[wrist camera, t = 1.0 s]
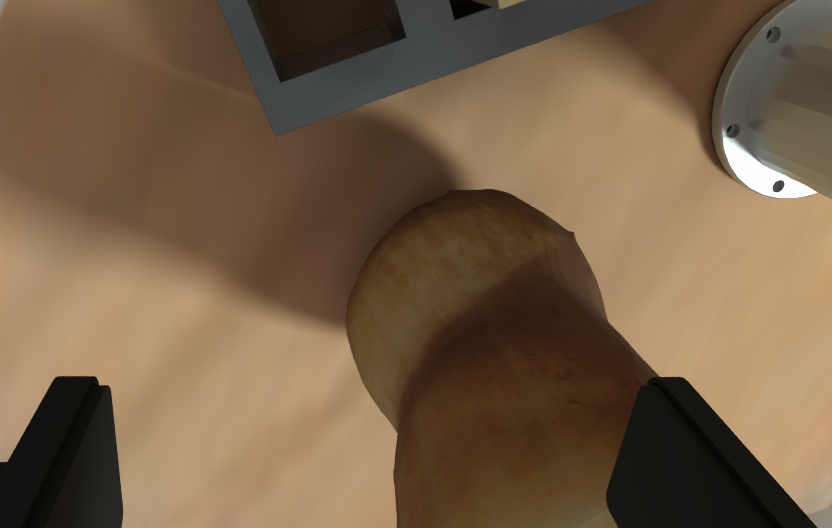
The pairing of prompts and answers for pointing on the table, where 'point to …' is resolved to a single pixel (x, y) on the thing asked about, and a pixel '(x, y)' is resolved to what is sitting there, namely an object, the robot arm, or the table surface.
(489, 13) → the graphite rack rail
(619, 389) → the butternut squash
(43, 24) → the table surface
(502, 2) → the tan rectangular block
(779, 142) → the robot arm
